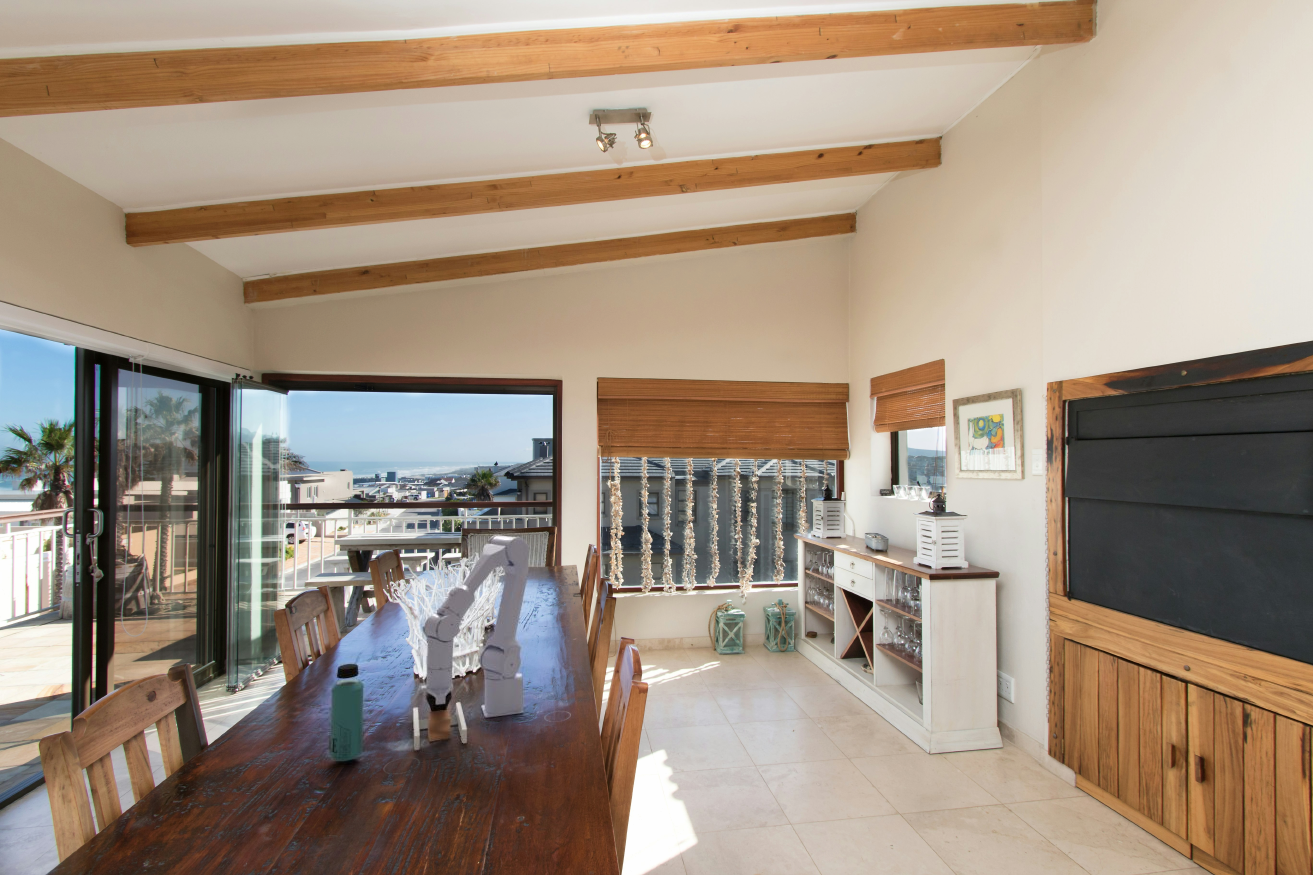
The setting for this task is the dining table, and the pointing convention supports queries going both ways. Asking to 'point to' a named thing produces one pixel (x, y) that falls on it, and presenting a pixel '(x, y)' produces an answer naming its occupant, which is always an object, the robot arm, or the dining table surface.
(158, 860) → the dining table surface
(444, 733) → the block
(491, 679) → the robot arm
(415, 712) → the channel
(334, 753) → the beverage bottle
